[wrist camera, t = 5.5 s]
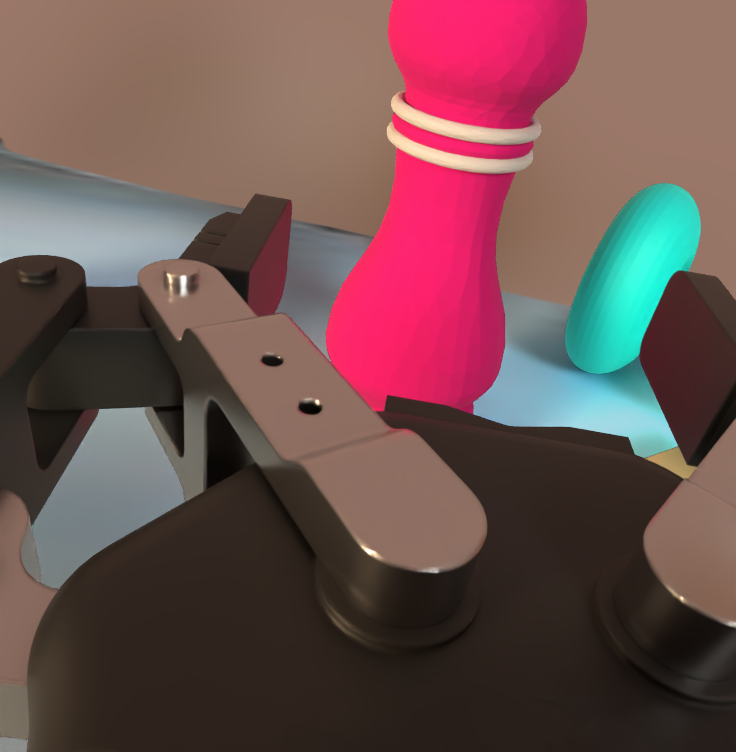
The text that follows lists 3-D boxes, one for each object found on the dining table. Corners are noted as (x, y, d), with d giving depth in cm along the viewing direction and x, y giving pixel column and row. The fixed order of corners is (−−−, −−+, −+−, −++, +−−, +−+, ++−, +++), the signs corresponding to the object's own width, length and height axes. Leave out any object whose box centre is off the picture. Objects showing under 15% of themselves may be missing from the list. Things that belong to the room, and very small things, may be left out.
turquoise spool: (737, 488, 29) (868, 290, 24) (534, 387, 34) (604, 197, 28) (771, 395, 37) (878, 225, 31) (600, 321, 41) (667, 159, 35)
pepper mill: (324, 364, 32) (396, -153, 21) (470, 387, 33) (619, -111, 21) (304, 465, 26) (389, -180, 15) (482, 492, 27) (697, -121, 15)
